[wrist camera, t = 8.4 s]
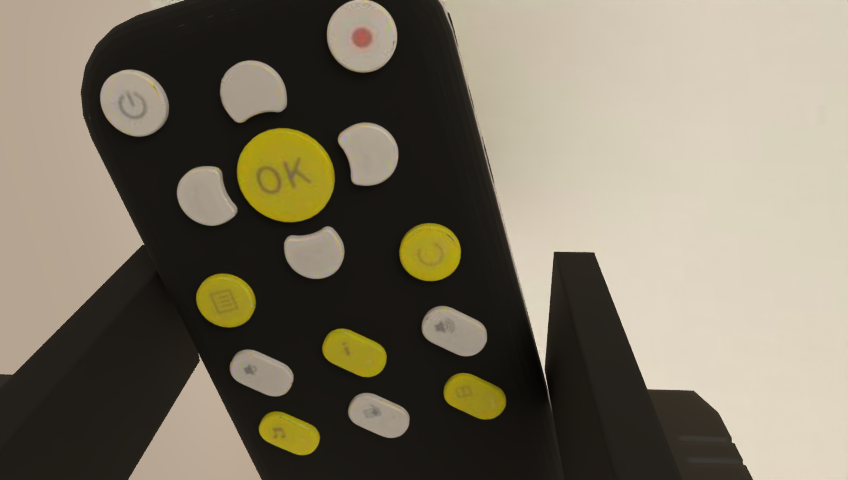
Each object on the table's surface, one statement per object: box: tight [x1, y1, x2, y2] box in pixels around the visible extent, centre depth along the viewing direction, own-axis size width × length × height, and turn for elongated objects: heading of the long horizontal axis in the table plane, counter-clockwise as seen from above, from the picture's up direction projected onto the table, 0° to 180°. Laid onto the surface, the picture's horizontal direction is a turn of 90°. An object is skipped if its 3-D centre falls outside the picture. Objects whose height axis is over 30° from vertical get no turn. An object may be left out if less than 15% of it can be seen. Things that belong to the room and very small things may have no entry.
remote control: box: [81, 0, 564, 480], centre depth 13 cm, size 6×13×2 cm, turn 16°
